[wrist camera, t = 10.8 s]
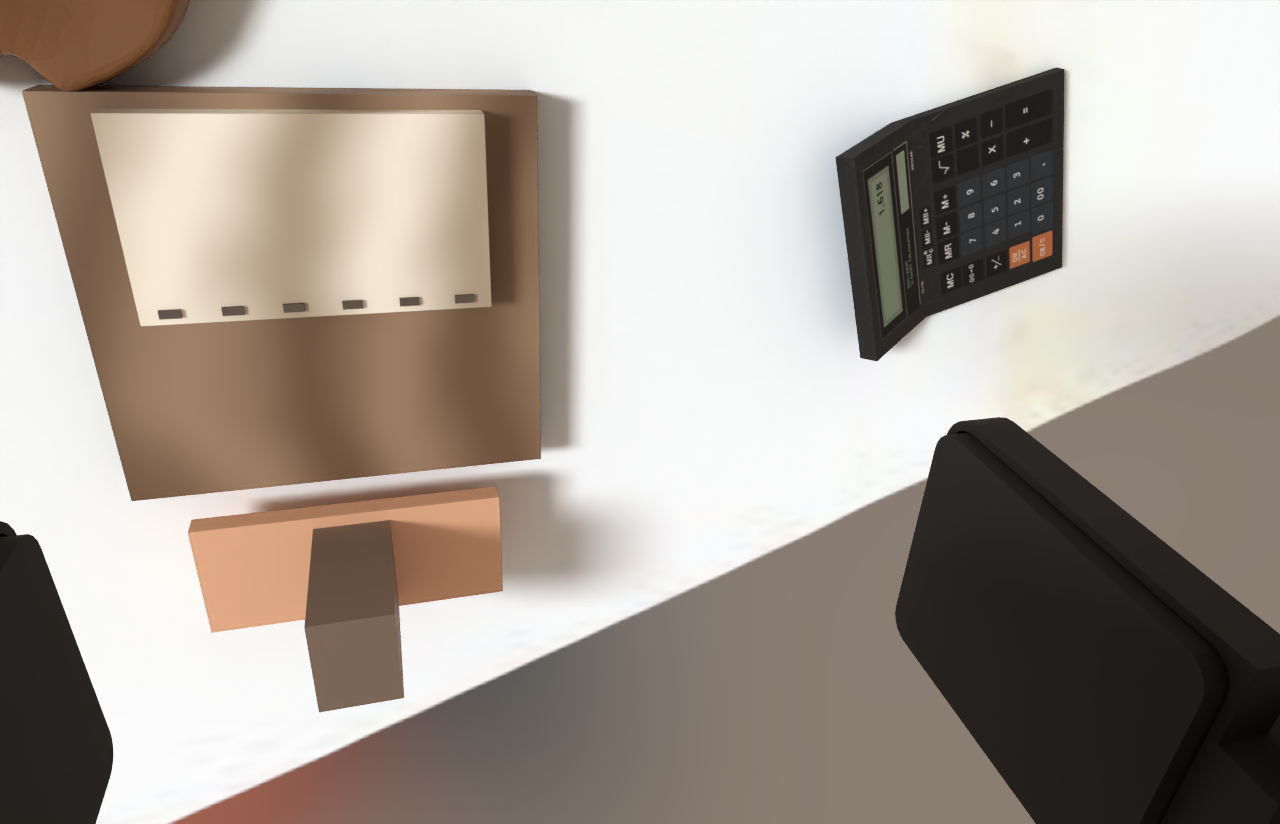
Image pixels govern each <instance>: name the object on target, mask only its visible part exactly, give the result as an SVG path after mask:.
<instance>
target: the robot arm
mask: <svg viewBox="0 0 1280 824" xmlns="http://www.w3.org/2000/svg"><path fill="white" fill-rule="evenodd" d="M895 615H896V623H897V628H898V630H899V633H900V635H901V637H902V639H903V641H904V642H905V643H906V645H907V646H908V648H909V649H910V650H911V652H912V653H913V655H914V656H915V657H916V658H917V660H918V661H919V663H920V664H921V666H922V667H923V668H924V670H925V671H926V672H927V674H928V675H929V677H930V678H931V679H932V681H933V682H934V684H935V685H936V686H937V688H938V689H939V690H940V692H941V693H942V695H943V696H944V697H945V699H946V700H947V701H948V703H949V704H950V706H951V707H952V708H953V710H954V711H955V713H956V714H957V715H958V716H959V718H960V719H961V721H962V722H963V723H964V725H965V726H966V728H967V729H968V730H969V732H970V733H971V735H972V736H973V737H974V739H975V740H976V742H977V743H978V744H979V746H980V747H981V748H982V750H983V751H984V752H985V754H986V755H987V757H988V758H989V759H990V761H991V762H992V764H993V765H994V766H995V768H996V769H997V770H998V772H999V773H1000V775H1001V776H1002V777H1003V779H1004V780H1005V781H1006V783H1007V784H1008V786H1009V787H1010V789H1011V790H1012V791H1013V793H1014V794H1015V795H1016V797H1017V798H1018V799H1019V801H1020V802H1021V804H1022V805H1023V806H1024V808H1025V809H1026V811H1027V812H1028V813H1029V815H1030V816H1031V817H1032V819H1033V820H1034V822H1035V823H1036V824H1280V634H1279V633H1278V632H1276V631H1275V630H1274V629H1273V628H1271V627H1270V626H1269V625H1268V624H1266V623H1265V622H1264V621H1263V620H1261V619H1260V618H1259V617H1258V616H1256V615H1255V614H1253V613H1252V612H1251V611H1250V610H1249V609H1247V608H1246V607H1245V606H1244V605H1242V604H1241V603H1240V602H1239V601H1237V600H1236V599H1235V598H1234V597H1232V596H1231V595H1230V594H1229V593H1227V592H1226V591H1225V590H1223V589H1222V588H1221V587H1220V586H1219V585H1217V584H1216V583H1215V582H1214V581H1212V580H1211V579H1210V578H1209V577H1207V576H1206V575H1205V574H1204V573H1202V572H1201V571H1200V570H1199V569H1197V568H1196V567H1195V566H1194V565H1192V564H1191V563H1190V562H1189V561H1187V560H1186V559H1185V558H1184V557H1182V556H1181V555H1180V554H1179V553H1177V552H1176V551H1175V550H1173V549H1172V548H1171V547H1170V546H1168V545H1167V544H1166V543H1165V542H1163V541H1162V540H1161V539H1160V538H1158V537H1157V536H1156V535H1155V534H1153V533H1152V532H1151V531H1150V530H1148V529H1147V528H1146V527H1145V526H1143V525H1142V524H1141V523H1140V522H1138V521H1137V520H1136V519H1135V518H1133V517H1132V516H1131V515H1130V514H1128V513H1127V512H1126V511H1125V510H1123V509H1122V508H1121V507H1120V506H1118V505H1117V504H1116V503H1115V502H1113V501H1112V500H1111V499H1110V498H1108V497H1107V496H1106V495H1105V494H1103V493H1102V492H1101V491H1100V490H1098V489H1097V488H1096V487H1095V486H1093V485H1092V484H1091V483H1089V482H1088V481H1087V480H1086V479H1085V478H1083V477H1082V476H1081V475H1079V474H1078V473H1077V472H1075V471H1074V470H1073V469H1072V468H1071V467H1069V466H1068V465H1067V464H1066V463H1064V462H1063V461H1062V460H1061V459H1059V458H1058V457H1057V456H1056V455H1054V454H1053V453H1052V452H1050V451H1049V450H1048V449H1047V448H1046V447H1044V446H1043V445H1042V444H1041V443H1039V442H1038V441H1037V440H1036V439H1034V438H1033V437H1032V436H1031V435H1029V434H1028V433H1027V432H1026V431H1024V430H1023V429H1022V428H1021V427H1019V426H1018V425H1017V424H1016V423H1014V422H1013V421H1011V420H1009V419H1007V418H1000V417H998V418H988V419H979V420H969V421H960V422H958V423H956V424H954V425H953V426H952V427H951V428H950V429H949V431H948V433H947V435H945V436H943V437H941V438H940V440H939V441H938V443H937V445H936V448H935V452H934V456H933V460H932V464H931V468H930V472H929V476H928V480H927V484H926V489H925V492H924V496H923V500H922V504H921V508H920V512H919V516H918V520H917V524H916V528H915V532H914V537H913V541H912V545H911V549H910V553H909V557H908V561H907V565H906V569H905V573H904V577H903V581H902V585H901V589H900V593H899V598H898V601H897V605H896V612H895ZM112 764H113V744H112V738H111V734H110V731H109V728H108V726H107V723H106V720H105V718H104V715H103V712H102V710H101V707H100V704H99V702H98V699H97V696H96V694H95V691H94V688H93V686H92V683H91V680H90V678H89V675H88V672H87V670H86V667H85V664H84V662H83V659H82V656H81V654H80V651H79V648H78V646H77V643H76V640H75V638H74V635H73V632H72V630H71V627H70V624H69V622H68V619H67V616H66V614H65V611H64V608H63V606H62V603H61V600H60V597H59V595H58V592H57V589H56V587H55V584H54V581H53V579H52V576H51V573H50V571H49V568H48V565H47V563H46V560H45V557H44V555H43V552H42V549H41V547H40V545H39V543H38V541H37V540H36V539H35V538H34V537H33V536H31V535H28V534H26V535H16V533H15V531H14V530H13V529H12V528H11V527H10V526H9V525H8V524H7V523H4V522H1V521H0V824H95V823H96V820H97V817H98V814H99V811H100V807H101V804H102V801H103V798H104V795H105V791H106V788H107V785H108V782H109V779H110V775H111V770H112Z"/></svg>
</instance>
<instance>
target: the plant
mask: <svg viewBox="0 0 1280 824" xmlns="http://www.w3.org/2000/svg"><path fill="white" fill-rule="evenodd" d="M189 2H190V0H0V57H1V56H2V55H13V56H16V57H18V58H20V59H22V60H23V61H25V62H26V63H28V64H29V65H30V66H31V67H33V68H34V69H35V70H36V71H37V72H38V73H39V74H41V75H42V76H43V77H44V78H45V79H47V80H48V81H49V82H50V83H52V84H53V85H54V86H55V87H57V88H58V89H61V90H63V91H67V92H75V91H80V90H83V89H86V88H89V87H91V86H94V85H97V84H99V83H102V82H104V81H107V80H110V79H112V78H114V77H116V76H118V75H120V74H122V73H124V72H126V71H128V70H129V69H131V68H133V67H135V66H136V65H138V64H139V63H141V62H143V61H144V60H146V59H147V58H148V57H150V56H151V55H152V54H154V53H155V52H156V51H158V50H159V49H160V48H161V47H162V46H163V45H164V44H165V43H166V42H167V41H168V40H169V38H170V37H171V36H172V35H173V33H174V32H175V31H176V29H177V28H178V26H179V25H180V23H181V21H182V19H183V17H184V15H185V12H186V10H187V7H188V4H189Z"/></svg>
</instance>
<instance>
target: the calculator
mask: <svg viewBox="0 0 1280 824" xmlns="http://www.w3.org/2000/svg"><path fill="white" fill-rule="evenodd" d="M1063 139H1064V69H1060V68H1054V69H1051V70H1048V71H1045V72H1042V73H1039V74H1036V75H1033V76H1030V77H1027V78H1024V79H1021V80H1018V81H1015V82H1012V83H1009V84H1006V85H1003V86H1000V87H997V88H994V89H991V90H988V91H985V92H982V93H979V94H976V95H973V96H970V97H967V98H964V99H961V100H958V101H955V102H952V103H949V104H946V105H943V106H940V107H937V108H934V109H931V110H928V111H925V112H922V113H919V114H916V115H913V116H910V117H907V118H904V119H901V120H898V121H895V122H892V123H890V124H889V125H887V126H885V127H884V128H882V129H881V130H879V131H877V132H876V133H874V134H873V135H871V136H869V137H868V138H866V139H865V140H863V141H861V142H860V143H858V144H857V145H855V146H853V147H852V148H850V149H849V150H847V151H845V152H844V153H842V154H840V155H839V156H837V157H836V164H837V172H838V180H839V188H840V197H841V205H842V213H843V221H844V229H845V237H846V245H847V253H848V261H849V269H850V277H851V285H852V293H853V301H854V309H855V317H856V325H857V334H858V342H859V350H860V358H864V359H869V360H873V361H878V360H879V359H880V358H881V357H882V356H883V355H884V354H886V353H887V352H888V351H889V350H890V349H891V348H892V347H893V346H894V345H896V344H897V343H898V342H899V341H900V340H901V339H902V338H903V337H904V336H905V335H907V334H908V333H909V332H910V331H911V330H912V329H913V328H914V327H915V326H916V325H918V324H919V323H920V322H921V321H922V320H923V319H924V318H925V317H927V316H930V315H933V314H935V313H938V312H941V311H943V310H946V309H949V308H952V307H954V306H957V305H960V304H963V303H965V302H968V301H971V300H974V299H976V298H979V297H982V296H984V295H987V294H990V293H993V292H995V291H998V290H1001V289H1004V288H1006V287H1009V286H1012V285H1015V284H1017V283H1020V282H1023V281H1025V280H1028V279H1031V278H1034V277H1036V276H1039V275H1042V274H1045V273H1047V272H1050V271H1053V270H1055V269H1058V268H1061V267H1062V214H1063Z"/></svg>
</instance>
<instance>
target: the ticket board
mask: <svg viewBox="0 0 1280 824" xmlns="http://www.w3.org/2000/svg"><path fill="white" fill-rule="evenodd" d="M22 93H23V97H24V101H25V105H26V108H27V112H28V116H29V120H30V123H31V127H32V131H33V135H34V138H35V142H36V146H37V149H38V153H39V157H40V161H41V164H42V168H43V172H44V176H45V179H46V183H47V187H48V191H49V194H50V198H51V202H52V205H53V209H54V213H55V217H56V220H57V224H58V228H59V232H60V235H61V239H62V243H63V247H64V250H65V254H66V258H67V261H68V265H69V269H70V273H71V276H72V280H73V284H74V288H75V291H76V295H77V299H78V303H79V306H80V310H81V314H82V318H83V321H84V325H85V329H86V332H87V336H88V340H89V344H90V347H91V351H92V355H93V359H94V362H95V366H96V370H97V374H98V377H99V381H100V385H101V388H102V392H103V396H104V400H105V403H106V407H107V411H108V415H109V418H110V422H111V426H112V430H113V433H114V437H115V441H116V444H117V448H118V452H119V456H120V459H121V463H122V467H123V471H124V474H125V478H126V482H127V486H128V489H129V493H130V497H131V500H132V501H137V500H147V499H156V498H166V497H176V496H185V495H195V494H205V493H214V492H224V491H234V490H243V489H253V488H263V487H272V486H282V485H292V484H301V483H311V482H320V481H330V480H340V479H349V478H359V477H369V476H378V475H388V474H398V473H407V472H417V471H427V470H436V469H446V468H456V467H465V466H475V465H485V464H494V463H504V462H513V461H523V460H533V459H541V434H540V343H539V252H538V162H537V95H535V94H534V93H533V92H532V91H530V90H473V89H374V88H274V87H175V86H91V87H89V88H86V89H83V90H80V91H75V92H67V91H63V90H61V89H58V88H57V87H55V86H54V85H37V86H34V87H31V88H29V89H26V90H24V91H22Z"/></svg>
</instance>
